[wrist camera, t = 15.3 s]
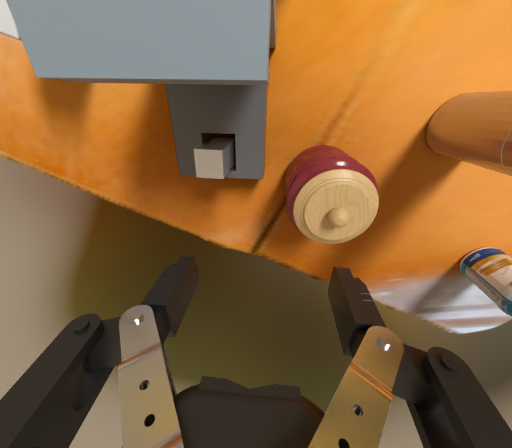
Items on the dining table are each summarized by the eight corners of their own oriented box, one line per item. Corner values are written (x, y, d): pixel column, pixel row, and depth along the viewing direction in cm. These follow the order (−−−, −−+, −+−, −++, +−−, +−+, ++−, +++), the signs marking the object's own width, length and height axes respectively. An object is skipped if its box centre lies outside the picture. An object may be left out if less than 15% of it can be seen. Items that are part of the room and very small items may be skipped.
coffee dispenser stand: (276, 30, 32) (274, -112, 11) (273, 94, 35) (266, 80, 15) (165, 31, 33) (-34, -97, 12) (173, 92, 37) (36, 77, 16)
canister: (343, 211, 45) (377, 267, 29) (281, 206, 45) (282, 258, 30) (361, 146, 38) (418, 174, 23) (288, 141, 39) (296, 165, 24)
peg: (237, 138, 39) (222, 150, 29) (237, 160, 41) (223, 179, 31) (215, 137, 40) (193, 148, 29) (216, 159, 42) (196, 177, 31)
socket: (268, 64, 34) (266, 58, 29) (264, 171, 42) (262, 179, 38) (175, 63, 35) (161, 57, 30) (189, 168, 43) (180, 175, 39)
